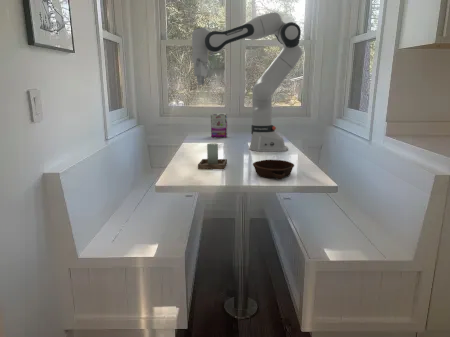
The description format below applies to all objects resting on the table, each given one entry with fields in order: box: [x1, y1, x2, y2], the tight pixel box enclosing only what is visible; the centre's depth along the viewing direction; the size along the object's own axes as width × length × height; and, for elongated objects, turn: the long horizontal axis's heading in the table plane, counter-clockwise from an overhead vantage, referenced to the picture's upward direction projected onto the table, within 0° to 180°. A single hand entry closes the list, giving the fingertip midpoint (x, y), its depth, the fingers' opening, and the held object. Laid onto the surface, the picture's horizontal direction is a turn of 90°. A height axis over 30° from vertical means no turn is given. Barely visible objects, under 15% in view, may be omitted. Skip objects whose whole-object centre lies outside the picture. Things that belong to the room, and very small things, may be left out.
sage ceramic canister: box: [206, 143, 219, 164], centre depth 167 cm, size 5×5×10 cm
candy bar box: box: [210, 113, 228, 138], centre depth 254 cm, size 11×5×16 cm, turn 80°
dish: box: [252, 159, 295, 180], centre depth 152 cm, size 18×22×5 cm
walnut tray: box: [197, 158, 228, 170], centre depth 168 cm, size 12×12×2 cm
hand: (201, 84), depth 200 cm, fingers open, 8 cm apart
